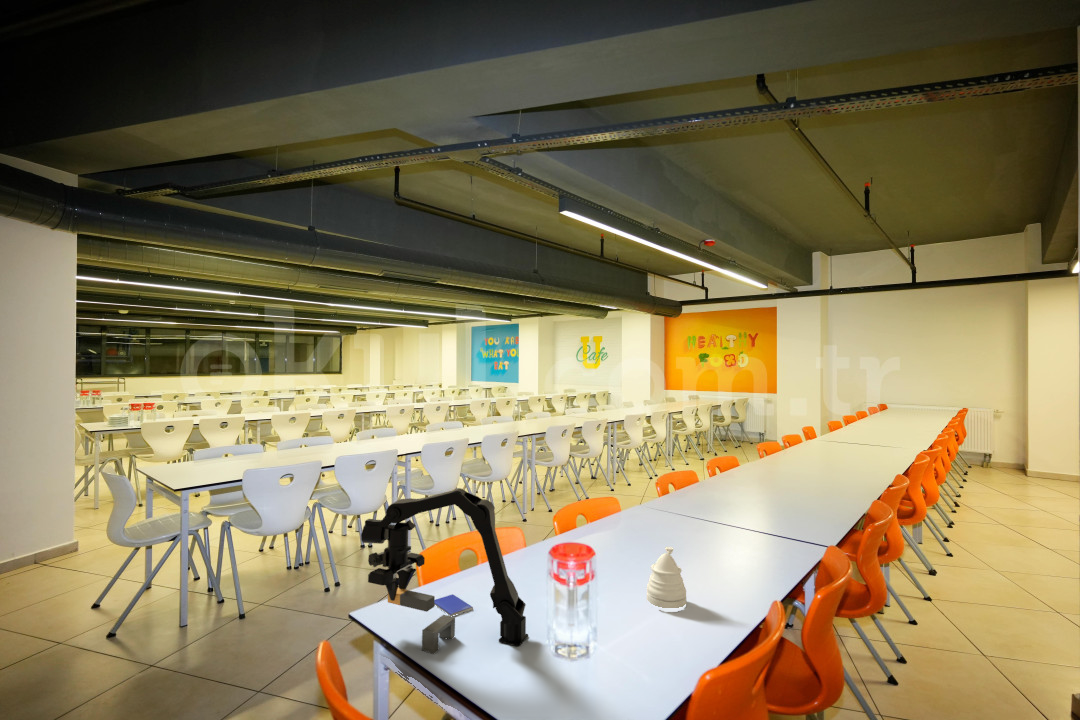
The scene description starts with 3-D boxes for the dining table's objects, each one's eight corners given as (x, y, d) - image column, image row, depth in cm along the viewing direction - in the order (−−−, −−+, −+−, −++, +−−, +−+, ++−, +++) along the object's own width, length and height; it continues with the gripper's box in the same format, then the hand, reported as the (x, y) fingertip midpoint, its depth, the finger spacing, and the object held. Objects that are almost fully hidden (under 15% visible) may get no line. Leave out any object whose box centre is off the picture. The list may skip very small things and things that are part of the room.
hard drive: (473, 606, 161) (453, 593, 171) (451, 613, 156) (431, 600, 165) (473, 611, 161) (453, 598, 171) (451, 618, 156) (431, 605, 165)
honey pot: (660, 592, 176) (659, 540, 177) (693, 604, 167) (693, 549, 167) (639, 603, 167) (639, 549, 168) (673, 616, 158) (673, 559, 158)
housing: (454, 636, 144) (455, 617, 144) (434, 653, 135) (434, 633, 135) (443, 633, 146) (443, 614, 146) (421, 650, 136) (422, 630, 137)
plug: (434, 606, 143) (434, 596, 143) (426, 611, 140) (427, 600, 140) (395, 597, 149) (395, 587, 149) (387, 602, 146) (387, 591, 146)
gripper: (397, 531, 159) (396, 581, 158) (353, 549, 142) (352, 605, 141) (426, 536, 155) (425, 587, 154) (384, 555, 138) (383, 613, 137)
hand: (397, 597), depth 147 cm, fingers closed on plug, 3 cm apart
